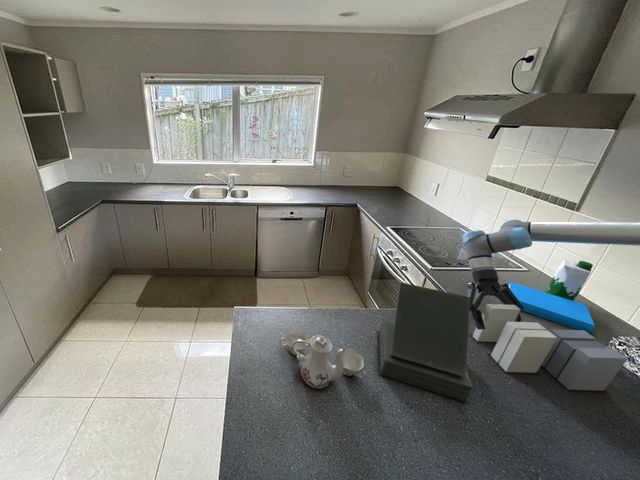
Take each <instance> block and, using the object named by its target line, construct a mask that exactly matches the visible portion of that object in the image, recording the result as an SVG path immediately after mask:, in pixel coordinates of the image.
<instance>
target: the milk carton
mask: <svg viewBox="0 0 640 480" xmlns="http://www.w3.org/2000/svg"><path fill="white" fill-rule="evenodd" d="M593 266H594V264H592V263H591V262H588V261H585V260H579V261H578V262H576V261H573V260H567V259H563V260H562V262H561V263H560V265H559V266H558V267H557V269H556V271H555V273H554V275H553V277H552V279H551V280H550V282H549V284H548V289H547V293H548V294H552V295H555V296H558V297H562V298H565V299H568V300H571V301H575V299H576V298H577V297H578V295H579V293H580V292H581V290H582V288H583V287H584V285H585V283H586V282H587V280H588V279H589V276H590V275H591V273H592V268H593Z"/></svg>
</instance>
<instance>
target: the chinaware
mask: <svg viewBox="0 0 640 480" xmlns="http://www.w3.org/2000/svg"><path fill="white" fill-rule="evenodd" d="M282 340H283V341H284V343H282ZM279 344H280V345H281V346H286V349H288V351H289V352H290V353H291V354H292V355H294V356H296V359H297V361H299V363H298V367H299V370H300V376H301V378H302V380H303V381H304V383H305V384H306V385H307V386H309V387H310V388H311V389H316V390H322V389H324V388H327V387H328V386H329V385H330V383H331V381H336V380H338V379H340V378H341V377H342V375H345V376H349V377H351V376H354V377H359V378H360V379H362V380H365V379H366V378H367V373H366V371H365V370H364V369H365V358H364V356H363V355H362V354H360V353H358V352H357V351H356V350H355V349H353V348H350V347H347V348H341V349H338V350H337V351H336V354H335V355H336V356H335V364H332V362H331V360H330V352H331V351H332V349H333V343H332V341H331V340H330V339H329V338H328V337H326V336H325V335H319V334H318V335H314V336H312V337H311V338H310V339H309V338H308V335H307V333H306V332H304V331H300V330H299V331H298V330H296V329H290V330H289V331H288V332H287V333H284V335H283V337H280V339H279ZM308 347H309V348H310V349H309V352H308V353H307V354H306V355H304V354H302V353H303V352H304V351H305V350H306V349H307V348H308ZM359 372H361V373H363V375H364V377H362V376H361V375H360V374H359Z"/></svg>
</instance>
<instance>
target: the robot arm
mask: <svg viewBox="0 0 640 480" xmlns="http://www.w3.org/2000/svg"><path fill="white" fill-rule="evenodd" d="M462 241H463V247H464V250H465V253H466V256H467V261H468V264H469V268H470V271H472V272H471V276H472V280H473V281H472V282H468V283H467V284H466V286H467V291H466V295H465V296H466V297H470V310H469V311H470V312H471V316H472V319H473V320H474V321H475V325H476V327H477V329H478V330H481V329H485V326H484V322H483V318H482V314H483V313H482V310H481V309H479V307H480V306H481V304H482V301H483V300H484V298H485V297H487V296H490V297H494V298H497V299H498V300H499V301H500V302H501V303H503V304H504V305H515V306H517V307H518V308H519V309H521V310H520V312H519V314H518V316H517V318H516V320H515V322H522V316H521V311H522V309H524V307H523V305H522V304H521V303H520V302H519V300H518V299H517V298H516V296H515V295H514V294H513V293H512V291H511V290H510V288H509V284H508V283H507V282H504V283H499V279H500V277H499V274H498V271H497V270H496V265H495V261H494V259H493V255H492V254H497V253H504V252H509V251H515V250H516V251H517V250H522V249H525V248H526V249H527V248H530V247H531V246H532V245H533V242H540V243H541V242H544V243H567V244H569V243H570V244H587V245H588V244H589V245H612V246H613V245H615V246H639V247H640V221H522V220H519V219H509V220H506V221H505V222H504V223H502V225H501V226H500V228H499V231H496V232H492V233H486V232H485V231H484V230H480V229H479V230H478V229H477V230H470V231H467V232H465V233H464V234H463V235H462ZM476 290H477V291H476Z"/></svg>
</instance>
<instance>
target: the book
mask: <svg viewBox="0 0 640 480" xmlns="http://www.w3.org/2000/svg"><path fill="white" fill-rule="evenodd" d="M508 286H509V288H510V290H511V291H512V293H513V294H514V295H515V296H516V298H517V299H518V300H519V302H520V303H521V304H522V305H523V307H524V309H522V310H521V311H522V312H525V313H529V314H530V315H531V314H532V315H535V316H537V317H539V318H544V319H546V320H549V321H552V322H554V323H557V324H560V325H564V326H566V327H569V328H572V329H574V330H584V331H586V332H587V333H589V334H590V335H591V333H592V332H593V331H594V328H595V323H594V321H593V318H592V315H591V313H590V311H589V309H588V306H587V305H586V304H584V303H581V302H578V301H575V300H574V301H571V300H568V299H565V298H562V297H558V296H555V295H552V294H548V292H544V291H541V290H538V289H535V288H532V287H530V286H529V287H528V286H525V285H521V284H518V283H515V282H512V281H509V284H508Z"/></svg>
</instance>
